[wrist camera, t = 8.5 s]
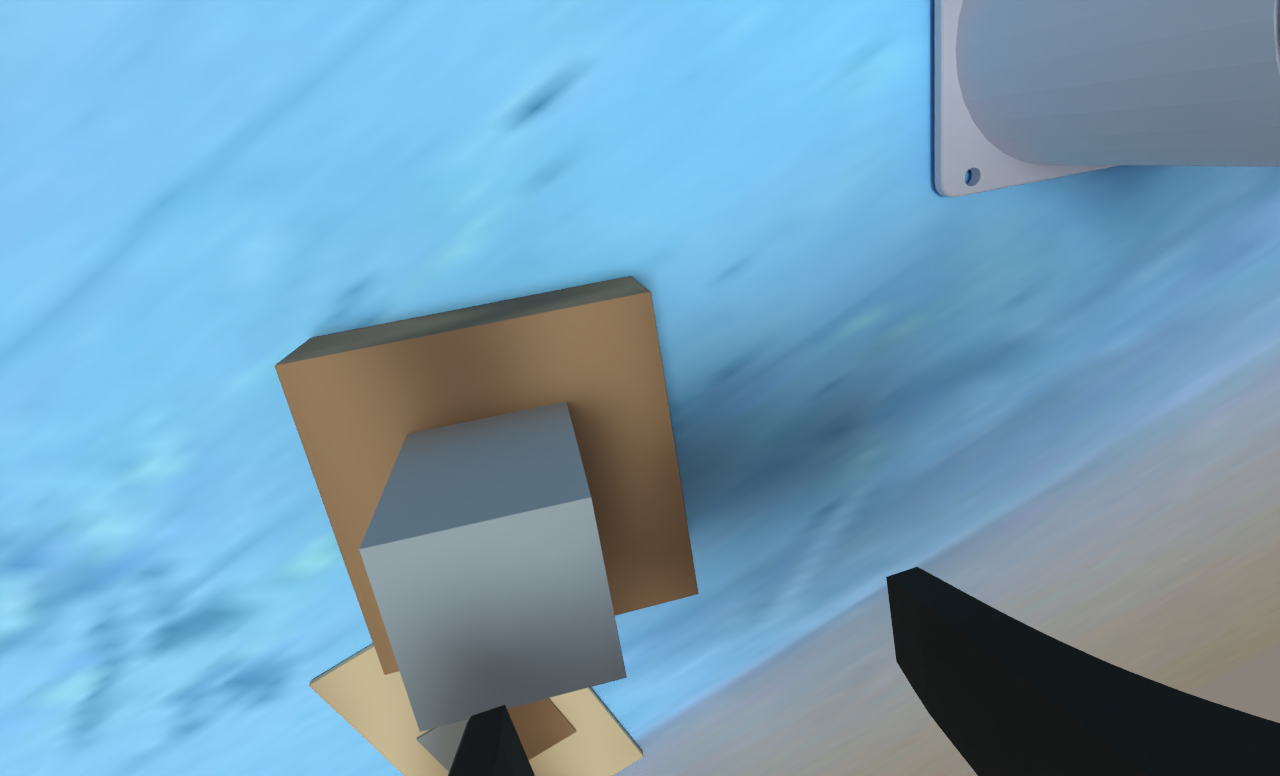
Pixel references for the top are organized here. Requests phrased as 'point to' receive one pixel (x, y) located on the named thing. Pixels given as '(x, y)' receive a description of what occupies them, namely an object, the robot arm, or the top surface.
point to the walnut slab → (495, 385)
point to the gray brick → (492, 567)
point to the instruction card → (548, 729)
